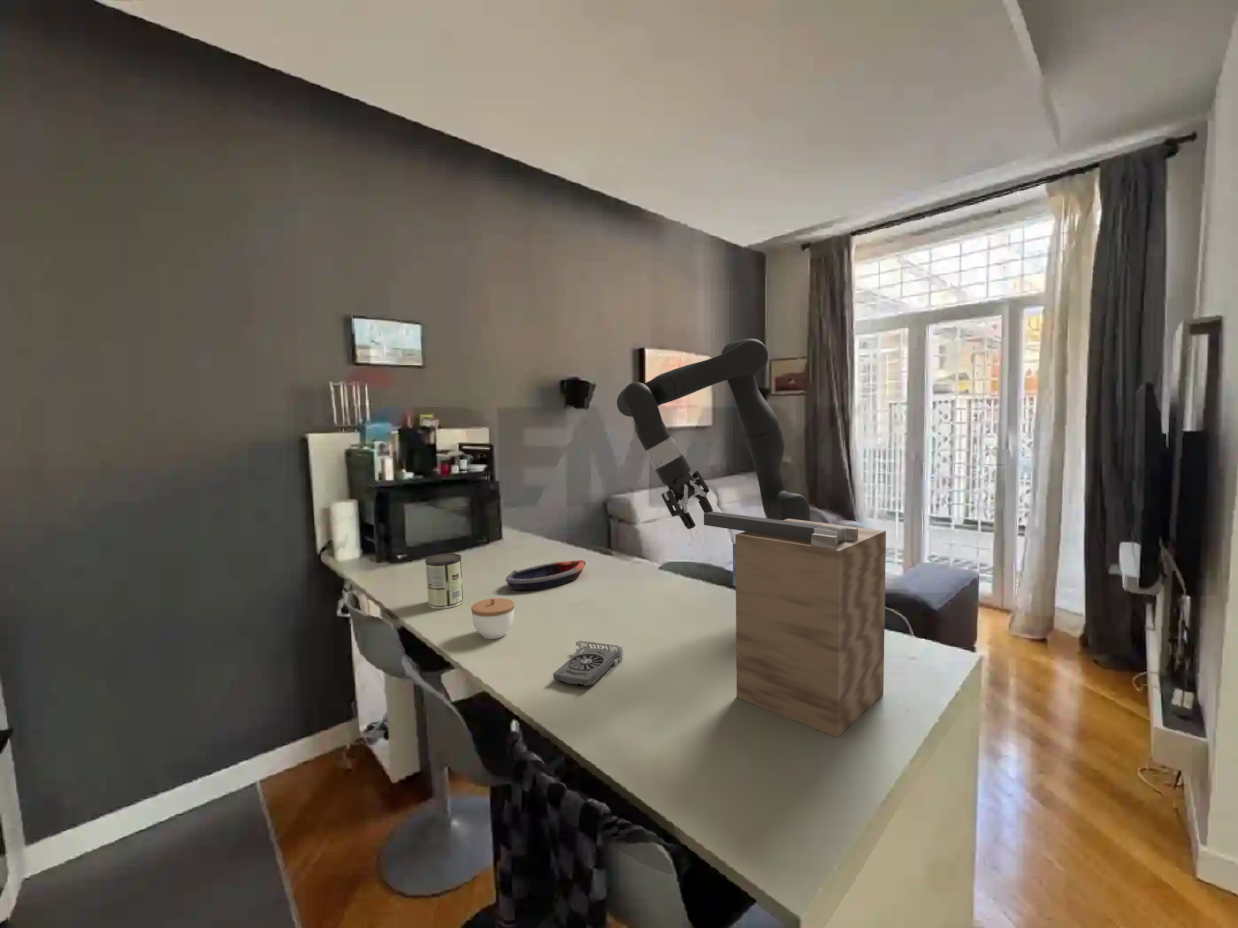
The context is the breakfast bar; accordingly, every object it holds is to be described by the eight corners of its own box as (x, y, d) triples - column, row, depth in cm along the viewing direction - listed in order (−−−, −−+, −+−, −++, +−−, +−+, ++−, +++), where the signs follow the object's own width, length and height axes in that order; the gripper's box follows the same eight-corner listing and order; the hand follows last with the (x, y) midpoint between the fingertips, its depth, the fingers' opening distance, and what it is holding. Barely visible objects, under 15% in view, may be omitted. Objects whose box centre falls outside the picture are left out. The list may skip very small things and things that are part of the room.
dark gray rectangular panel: (713, 522, 116) (712, 511, 116) (845, 541, 96) (845, 528, 96) (703, 525, 114) (703, 513, 114) (836, 545, 94) (836, 531, 94)
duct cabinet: (785, 661, 122) (785, 509, 119) (883, 693, 107) (886, 520, 104) (734, 695, 108) (732, 523, 105) (837, 737, 93) (839, 538, 90)
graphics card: (577, 638, 130) (624, 644, 126) (578, 653, 131) (625, 660, 126) (539, 669, 115) (590, 677, 110) (540, 686, 116) (591, 695, 111)
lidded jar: (491, 646, 134) (489, 608, 134) (463, 636, 141) (462, 600, 140) (524, 631, 143) (522, 596, 142) (496, 623, 149) (495, 589, 149)
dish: (496, 586, 183) (495, 571, 182) (574, 568, 202) (573, 555, 201) (519, 597, 171) (518, 582, 170) (599, 577, 190) (598, 563, 189)
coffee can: (436, 597, 172) (434, 553, 171) (468, 597, 171) (466, 553, 170) (421, 609, 162) (418, 561, 161) (455, 609, 161) (453, 562, 160)
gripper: (662, 465, 124) (698, 528, 124) (694, 445, 134) (726, 503, 134) (640, 476, 129) (674, 537, 129) (672, 456, 139) (703, 512, 139)
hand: (701, 520), depth 131 cm, fingers open, 8 cm apart
